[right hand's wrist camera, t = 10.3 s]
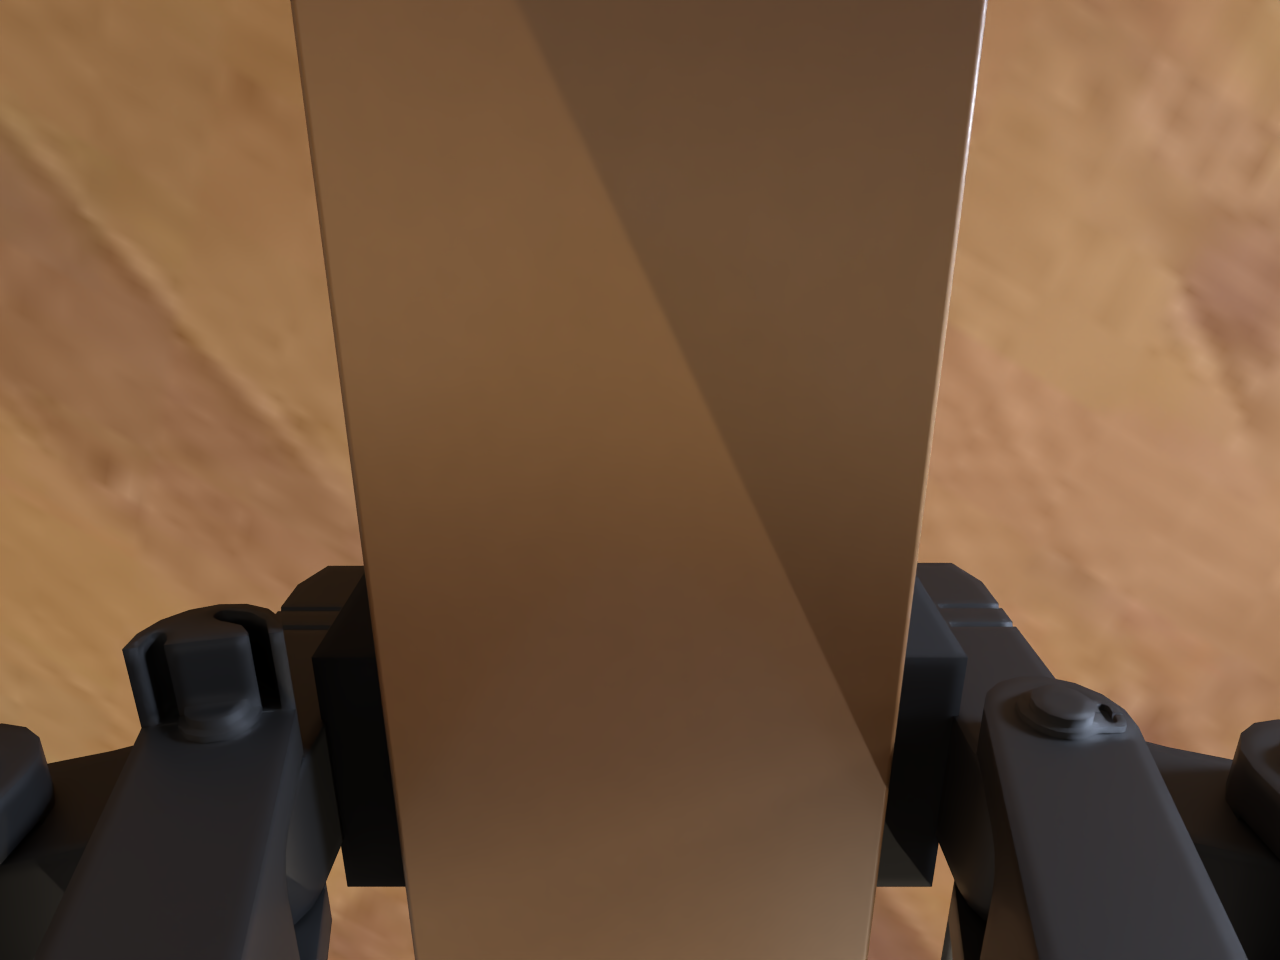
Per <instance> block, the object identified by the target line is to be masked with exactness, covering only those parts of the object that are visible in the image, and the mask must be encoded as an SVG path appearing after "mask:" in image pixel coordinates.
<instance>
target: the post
mask: <svg viewBox="0 0 1280 960" xmlns="http://www.w3.org/2000/svg"><path fill="white" fill-rule="evenodd" d="M290 1H291V9H292V16H293V24H294V32H295V39H296V47H297V55H298V63H299V70H300V78H301V86H302V93H303V101H304V109H305V116H306V124H307V132H308V139H309V147H310V155H311V163H312V170H313V178H314V186H315V193H316V201H317V209H318V216H319V224H320V232H321V239H322V247H323V255H324V262H325V270H326V278H327V286H328V293H329V301H330V309H331V316H332V324H333V332H334V339H335V347H336V355H337V362H338V370H339V378H340V385H341V393H342V401H343V409H344V416H345V424H346V432H347V439H348V447H349V455H350V462H351V470H352V478H353V485H354V493H355V501H356V509H357V516H358V524H359V532H360V539H361V547H362V555H363V562H364V570H365V578H366V585H367V593H368V601H369V608H370V616H371V624H372V632H373V639H374V647H375V655H376V662H377V670H378V678H379V685H380V693H381V701H382V708H383V716H384V724H385V732H386V739H387V747H388V755H389V762H390V770H391V778H392V785H393V793H394V801H395V808H396V816H397V824H398V831H399V839H400V847H401V855H402V862H403V870H404V878H405V885H406V893H407V901H408V908H409V916H410V924H411V931H412V939H413V947H414V955H415V960H867V958H868V950H869V942H870V934H871V926H872V918H873V910H874V902H875V894H876V886H877V878H878V870H879V862H880V854H881V847H882V839H883V831H884V823H885V815H886V807H887V799H888V791H889V783H890V775H891V767H892V759H893V751H894V743H895V735H896V727H897V719H898V711H899V703H900V695H901V688H902V680H903V672H904V664H905V656H906V648H907V640H908V632H909V624H910V616H911V608H912V600H913V592H914V584H915V576H916V568H917V560H918V552H919V544H920V536H921V529H922V521H923V513H924V505H925V497H926V489H927V481H928V473H929V465H930V457H931V449H932V441H933V433H934V425H935V417H936V409H937V401H938V393H939V385H940V378H941V370H942V362H943V354H944V346H945V338H946V330H947V322H948V314H949V306H950V298H951V290H952V282H953V274H954V266H955V258H956V250H957V242H958V234H959V226H960V219H961V211H962V203H963V195H964V187H965V179H966V171H967V163H968V155H969V147H970V139H971V131H972V123H973V115H974V107H975V99H976V91H977V83H978V75H979V67H980V60H981V52H982V44H983V36H984V28H985V20H986V12H987V4H988V0H290Z"/></svg>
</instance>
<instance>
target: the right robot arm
mask: <svg viewBox="0 0 1280 960" xmlns="http://www.w3.org/2000/svg"><path fill="white" fill-rule="evenodd" d="M122 651H123V655H124V659H125V663H126V667H127V671H128V675H129V679H130V683H131V687H132V691H133V695H134V699H135V703H136V707H137V711H138V715H139V719H140V723H141V727H142V729H141V731H140V733H139V735H138V737H137V739H136V741H135V743H134V746H130V747H126V748H122V749H118V750H114V751H110V752H105V753H100V754H95V755H90V756H84V757H79V758H74V759H69V760H64V761H59V762H54V763H49V764H47V761H46V758H45V755H44V751H43V748H42V745H41V741H40V738H39V737H38V736H37V735H35V734H34V733H33V732H32V731H30V730H29V729H28V728H26V727H21V726H15V725H9V724H0V960H327V959H328V950H329V941H330V933H331V924H332V917H331V911H330V904H329V898H328V892H327V886H326V880H327V878H328V875H329V873H330V871H331V868H332V866H333V863H334V861H335V859H336V856H337V854H338V852H339V849H340V847H341V848H342V854H343V861H344V867H345V873H346V880H347V886H348V887H406V885H405V878H404V870H403V862H402V855H401V847H400V839H399V831H398V824H397V816H396V808H395V801H394V793H393V785H392V778H391V770H390V762H389V755H388V747H387V739H386V732H385V724H384V716H383V708H382V701H381V693H380V685H379V678H378V670H377V662H376V655H375V647H374V639H373V632H372V624H371V616H370V608H369V601H368V593H367V585H366V578H365V570H364V566H327V567H326V568H324V569H322V570H321V571H319V572H318V573H316V574H314V575H313V576H311V577H310V578H308V579H306V580H305V581H303V582H302V583H300V584H298V585H297V587H296V588H295V589H294V591H293V592H292V593H291V595H290V596H289V597H288V599H287V600H286V601H285V603H284V604H283V605H282V607H281V611H278V612H277V613H276V614H275V613H273V612H272V611H271V610H269V609H267V608H263V607H258V606H254V605H249V604H219V605H213V606H208V607H203V608H197V609H192V610H188V611H185V612H182V613H179V614H177V615H174V616H171V617H168V618H165V619H162V620H160V621H158V622H157V623H155V624H153V625H151V626H150V627H148V628H146V629H145V630H143V631H141V632H139V633H138V634H136V635H135V637H134V638H133V639H132V640H131V641H130V642H129V643H128V644H127V645H126V646H125V647H124V648H123V649H122ZM938 844H940V846H941V849H942V851H943V853H944V856H945V858H946V861H947V863H948V865H949V868H950V870H951V873H952V875H953V877H954V886H953V892H952V898H951V904H950V910H949V916H948V922H947V927H946V933H945V939H944V945H943V951H942V957H941V960H1280V720H1279V719H1278V720H1271V721H1265V722H1258V723H1254V724H1252V725H1251V726H1250V727H1249V728H1247V729H1246V730H1245V731H1243V732H1242V733H1241V735H1240V739H1239V742H1238V745H1237V749H1236V752H1235V755H1234V759H1233V760H1231V759H1226V758H1220V757H1215V756H1210V755H1205V754H1200V753H1195V752H1190V751H1185V750H1180V749H1174V748H1169V747H1165V746H1161V745H1157V744H1153V743H1149V742H1146V741H1145V740H1144V738H1143V736H1142V733H1141V731H1140V729H1139V727H1138V726H1137V725H1136V723H1135V722H1134V721H1133V720H1132V718H1131V717H1130V716H1129V714H1128V713H1127V712H1126V711H1125V710H1124V709H1123V708H1121V707H1120V706H1118V705H1117V704H1116V703H1114V702H1113V701H1111V700H1110V699H1108V698H1107V697H1105V696H1104V695H1102V694H1100V693H1097V692H1095V691H1093V690H1090V689H1088V688H1085V687H1083V686H1081V685H1078V684H1076V683H1072V682H1067V681H1063V680H1058V679H1055V678H1054V676H1053V675H1052V674H1051V672H1050V671H1049V670H1048V668H1047V667H1046V666H1045V664H1044V663H1043V662H1042V660H1041V659H1040V658H1039V656H1038V655H1037V654H1036V653H1035V651H1034V650H1033V649H1032V647H1031V646H1030V645H1029V643H1028V642H1027V641H1026V639H1025V638H1024V637H1023V635H1022V634H1021V633H1020V631H1019V630H1018V629H1017V628H1016V627H1013V626H1012V621H1011V620H1010V618H1009V617H1008V616H1007V614H1006V613H1005V612H1004V610H1003V609H1002V608H999V607H998V602H997V601H996V600H995V599H994V597H993V596H992V595H991V593H990V592H989V591H988V589H987V588H986V587H985V585H984V584H983V583H982V582H981V581H980V580H978V579H976V578H975V577H973V576H972V575H970V574H968V573H967V572H965V571H964V570H962V569H960V568H959V567H957V566H956V565H954V564H952V563H917V568H916V576H915V584H914V592H913V600H912V608H911V616H910V624H909V632H908V640H907V648H906V656H905V664H904V672H903V680H902V688H901V695H900V703H899V711H898V719H897V727H896V735H895V743H894V751H893V759H892V767H891V775H890V783H889V791H888V799H887V807H886V815H885V823H884V831H883V839H882V847H881V854H880V862H879V870H878V878H877V886H876V887H932V882H933V875H934V869H935V863H936V856H937V850H938Z"/></svg>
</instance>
